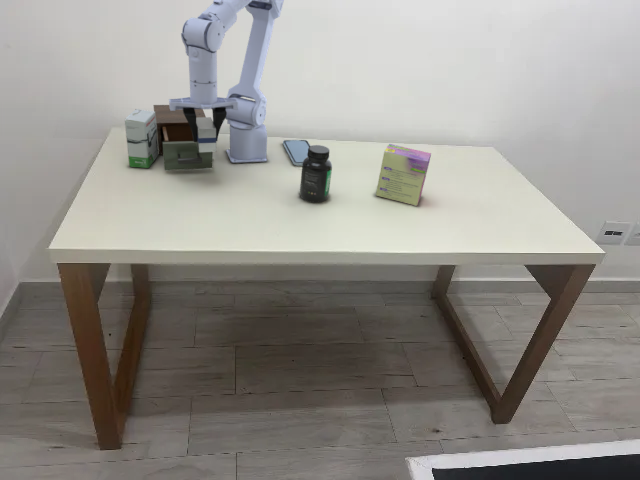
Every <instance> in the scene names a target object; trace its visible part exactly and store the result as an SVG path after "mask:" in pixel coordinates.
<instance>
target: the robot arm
mask: <svg viewBox="0 0 640 480" xmlns="http://www.w3.org/2000/svg"><path fill="white" fill-rule="evenodd" d="M284 1H285V0H213V1H212V3H211V4H210V5H209V6H208V7H207V8H205V10H203V11H202V12H201V14H200V15H198V16H197V17H190V18H189V19H187V20H185V22H184V23H183V25H182V29H181V30H182V31H181V33H180V37H181V41H182V43H183V45H184V49H185V54H186V56H187V57H188V74H189V96H188V97H180V98H169V99H168V103H169V104H168V105H169V107H170V111H175V110H183V113H184V115H185V117H186V119H187V121H188V123H189V125H190V128H191V131H192V135H193V140H194V142H197V131H196V114H195V110H194V109H203V110H212V111H211V113H212V121H213V123H214V125H215V128H216V142H218V140H219V134H220V130H221V128H222V125H223V124H224V122H225V120H227V121H226V123H227V124H228V125H229V148H227V149H225V152H226V154H227V156H228V158H229V161H230V163H231V164H239V163H240V164H242V163H263V162H265V163H266V162H268V158H267V151H268V129H267V127H266V124H265V123H264V122H265V119H266V117H267V103H268V99H267V97H266V96H265V94H264V93H263V92H262V90H261V89H260V86H261V82H262V78H263V74H264V69H265V65H266V60H267V56H268V52H269V47H270V43H271V38H272V34H273V30H274V26H275V22H276V19H278V18H279V17H280V16H281V13H282V10H283V5H284ZM244 8H245V9H246V12H248V13H249V14H250V15H251V16H252V24H251V28H250V31H249V36H248V42H247V46H246V50H245V55H244V60H243V64H242V67H241V72H240V76H239V77H240V78H239V82H238V83H237V84H235V85H233V86H231V87H230V88H229V89H228V91H227V94H226V97H220V96H219V97H218V50H220V49H221V46H222V44H223V40H224V38H225V36H226V33H227V32H228V31H229V30H230V28H232V27H233V25H235V23H236V22H237V19H238V13H239V12H241V10H243V9H244Z"/></svg>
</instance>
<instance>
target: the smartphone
mask: <svg viewBox="0 0 640 480" xmlns="http://www.w3.org/2000/svg"><path fill="white" fill-rule="evenodd" d="M282 145H283V146H284V149H285V151H286V152H287V154H288V157H289V158H290V160H291V162H292V165H294V166H297V167H298V166H299V167H300V166H301V167H302V163H303V161H304V159H305V158H307V157H308V156H307V153H308V148H309V147H310V146H311V144H310V142H309V141H308V140H307V139H284V140H283V141H282Z"/></svg>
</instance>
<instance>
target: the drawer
mask: <svg viewBox="0 0 640 480" xmlns="http://www.w3.org/2000/svg"><path fill="white" fill-rule="evenodd" d="M162 132H163V142H162V145H163V155H162V156H163V157H162V158H163V169H164V171H183V170H199V169H200V170H201V169H213V168H214V166H213V161H214V160H213V152H199V151H198V148H197V145H196V142H194V140H193V135H192V131H191V128H190V125H179V126H162Z"/></svg>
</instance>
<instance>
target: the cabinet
mask: <svg viewBox="0 0 640 480" xmlns="http://www.w3.org/2000/svg"><path fill="white" fill-rule="evenodd" d="M194 110H195V114H196V118H198V117H207V116H206V114H205V112H204V109H194ZM153 111H154V112H155V115H156V130H157V143H158V156H163V145H162V142H163V132H162V126H179V125H189V123H188V121H187V119H186V117H185V115H184V113H183V110H175V111H170V107H169V104H153Z"/></svg>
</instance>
